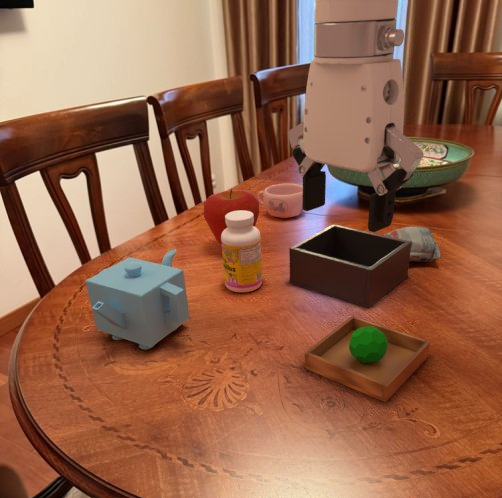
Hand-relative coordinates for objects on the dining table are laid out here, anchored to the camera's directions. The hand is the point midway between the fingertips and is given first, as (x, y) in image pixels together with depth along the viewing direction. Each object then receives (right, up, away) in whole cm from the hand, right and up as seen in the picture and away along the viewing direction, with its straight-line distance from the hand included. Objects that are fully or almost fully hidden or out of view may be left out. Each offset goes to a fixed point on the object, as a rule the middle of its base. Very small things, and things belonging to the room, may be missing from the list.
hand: (344, 217), depth 58 cm
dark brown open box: (+7, -4, +33) cm, 34 cm away
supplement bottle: (-12, -5, +33) cm, 36 cm away
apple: (-14, +5, +48) cm, 50 cm away
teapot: (-26, -13, +22) cm, 36 cm away
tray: (+5, -17, +12) cm, 21 cm away
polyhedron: (+5, -17, +12) cm, 21 cm away
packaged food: (+19, +2, +40) cm, 44 cm away
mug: (-3, +15, +64) cm, 66 cm away
